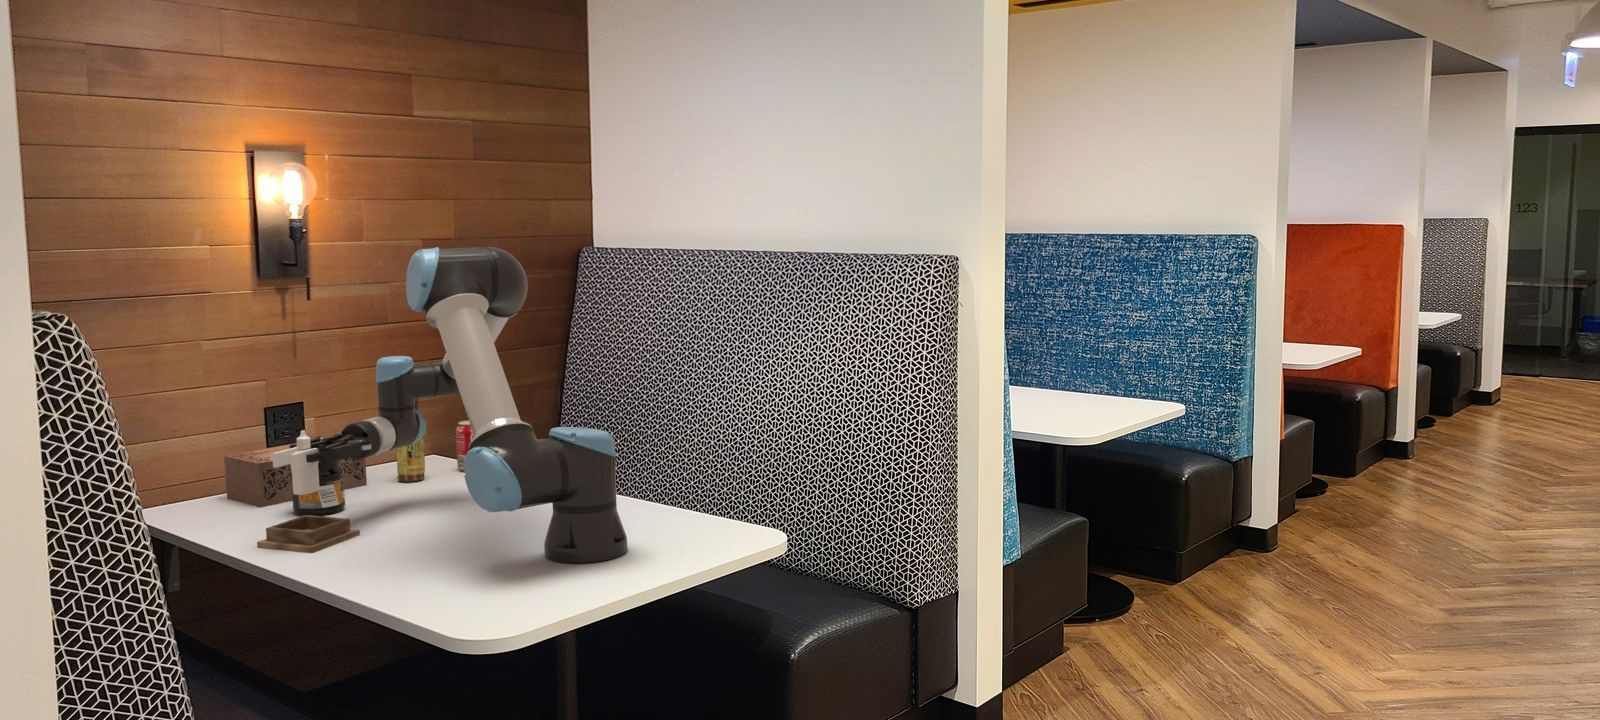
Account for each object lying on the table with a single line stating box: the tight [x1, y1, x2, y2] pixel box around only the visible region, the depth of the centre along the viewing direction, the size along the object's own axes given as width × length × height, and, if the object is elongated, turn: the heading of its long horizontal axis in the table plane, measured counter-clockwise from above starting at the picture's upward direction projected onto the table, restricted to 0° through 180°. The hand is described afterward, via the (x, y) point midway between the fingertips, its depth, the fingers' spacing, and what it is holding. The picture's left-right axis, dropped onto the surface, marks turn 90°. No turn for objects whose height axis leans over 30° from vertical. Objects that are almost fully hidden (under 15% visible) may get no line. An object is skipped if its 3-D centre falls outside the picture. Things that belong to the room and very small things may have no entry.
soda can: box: [455, 419, 474, 473], centre depth 291 cm, size 7×7×12 cm
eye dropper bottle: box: [292, 430, 319, 495], centre depth 226 cm, size 4×6×12 cm
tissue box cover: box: [223, 444, 368, 508], centre depth 269 cm, size 26×14×10 cm, turn 144°
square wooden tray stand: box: [256, 515, 361, 554], centre depth 227 cm, size 13×13×4 cm
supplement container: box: [290, 460, 346, 516], centre depth 251 cm, size 10×10×12 cm
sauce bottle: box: [396, 399, 426, 483], centre depth 279 cm, size 7×6×20 cm
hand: (283, 461), depth 220 cm, fingers closed on eye dropper bottle, 3 cm apart
